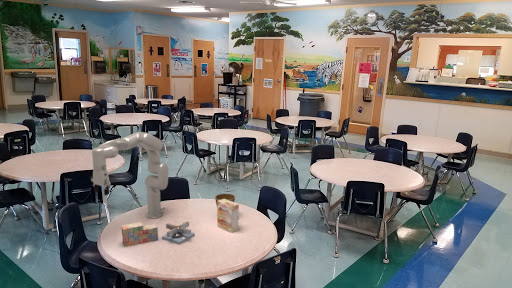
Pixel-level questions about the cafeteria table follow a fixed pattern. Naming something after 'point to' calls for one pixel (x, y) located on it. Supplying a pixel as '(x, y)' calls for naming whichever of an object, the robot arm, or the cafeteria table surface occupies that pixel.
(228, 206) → the coffeecake box
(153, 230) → the stack of blocks
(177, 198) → the cafeteria table surface
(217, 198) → the plant pot
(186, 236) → the stand
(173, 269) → the cafeteria table surface
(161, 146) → the robot arm
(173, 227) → the capstan
